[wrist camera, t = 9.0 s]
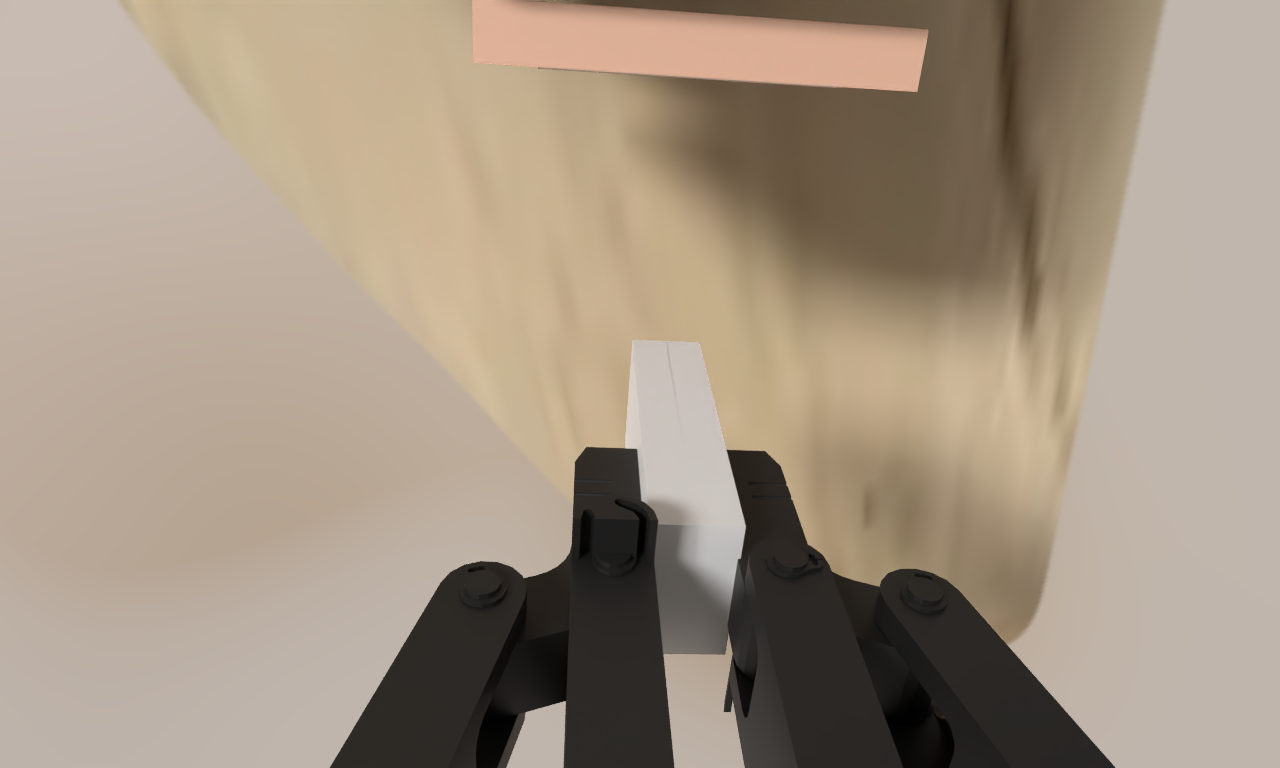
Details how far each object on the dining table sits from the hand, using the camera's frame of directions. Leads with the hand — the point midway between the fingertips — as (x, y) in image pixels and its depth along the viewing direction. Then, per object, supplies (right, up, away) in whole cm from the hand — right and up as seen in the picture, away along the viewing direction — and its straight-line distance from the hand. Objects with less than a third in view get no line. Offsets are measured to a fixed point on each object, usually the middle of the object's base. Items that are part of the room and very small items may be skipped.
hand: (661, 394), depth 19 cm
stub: (0, +8, -2) cm, 8 cm away
